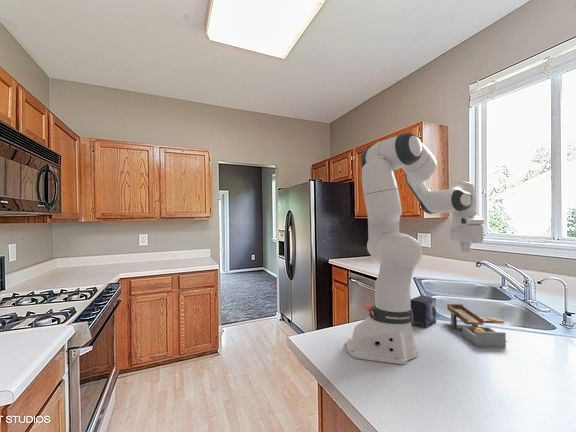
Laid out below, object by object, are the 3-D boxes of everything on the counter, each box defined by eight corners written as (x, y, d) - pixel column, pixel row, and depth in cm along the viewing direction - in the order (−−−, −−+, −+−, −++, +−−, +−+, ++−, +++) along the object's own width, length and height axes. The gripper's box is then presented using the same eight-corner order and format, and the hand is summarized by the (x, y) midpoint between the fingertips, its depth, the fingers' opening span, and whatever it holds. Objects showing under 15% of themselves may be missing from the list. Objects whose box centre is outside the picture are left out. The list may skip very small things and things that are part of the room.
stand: (453, 329, 109) (453, 314, 109) (448, 326, 113) (448, 311, 113) (480, 330, 108) (480, 315, 108) (475, 326, 112) (474, 312, 112)
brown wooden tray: (465, 324, 103) (465, 317, 103) (446, 309, 118) (446, 303, 118) (506, 325, 102) (506, 318, 102) (482, 310, 117) (482, 304, 117)
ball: (474, 325, 100) (470, 330, 103) (478, 335, 98) (474, 339, 100) (484, 326, 100) (480, 330, 102) (489, 335, 97) (485, 340, 100)
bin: (476, 347, 94) (476, 332, 94) (462, 335, 103) (462, 322, 103) (505, 348, 93) (505, 332, 93) (489, 336, 102) (488, 323, 102)
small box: (425, 329, 110) (425, 302, 110) (409, 324, 115) (409, 299, 115) (437, 322, 117) (436, 297, 117) (421, 318, 122) (421, 294, 122)
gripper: (445, 220, 129) (446, 250, 129) (469, 220, 109) (470, 255, 109) (459, 220, 129) (460, 250, 128) (486, 219, 108) (487, 255, 108)
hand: (465, 252), depth 118 cm, fingers closed
